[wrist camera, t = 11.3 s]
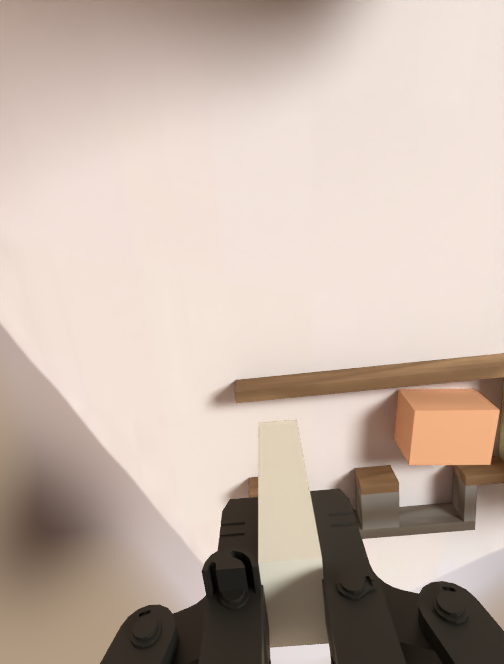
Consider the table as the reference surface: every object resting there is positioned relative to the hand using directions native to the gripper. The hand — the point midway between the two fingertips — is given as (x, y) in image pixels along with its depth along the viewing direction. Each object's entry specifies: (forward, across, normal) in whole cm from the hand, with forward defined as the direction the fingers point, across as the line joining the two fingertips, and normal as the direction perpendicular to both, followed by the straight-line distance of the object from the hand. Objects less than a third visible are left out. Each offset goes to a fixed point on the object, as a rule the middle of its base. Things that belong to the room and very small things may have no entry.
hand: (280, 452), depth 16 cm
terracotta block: (+27, +17, -14) cm, 34 cm away
